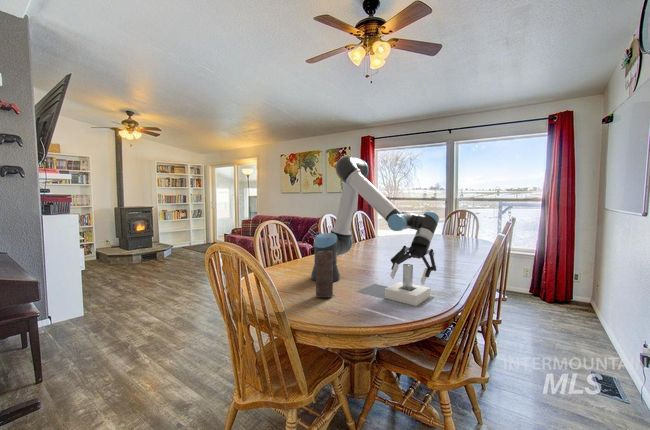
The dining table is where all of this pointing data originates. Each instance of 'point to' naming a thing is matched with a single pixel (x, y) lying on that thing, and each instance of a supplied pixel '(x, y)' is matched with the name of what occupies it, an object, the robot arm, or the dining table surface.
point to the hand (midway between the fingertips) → (406, 279)
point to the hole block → (407, 294)
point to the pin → (407, 277)
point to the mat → (380, 292)
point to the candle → (324, 274)
